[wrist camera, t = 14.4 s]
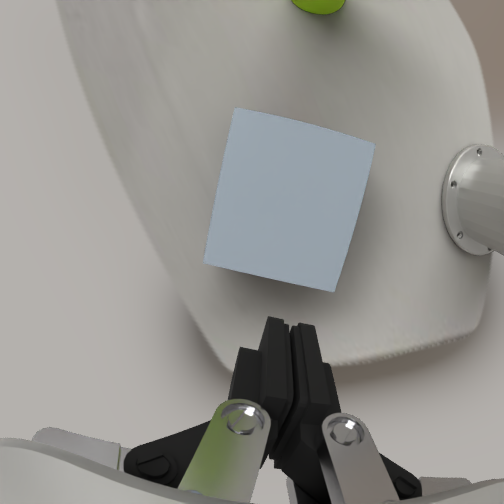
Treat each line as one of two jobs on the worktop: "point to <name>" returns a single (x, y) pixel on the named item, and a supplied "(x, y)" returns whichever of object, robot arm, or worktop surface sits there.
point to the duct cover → (287, 199)
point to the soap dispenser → (319, 5)
